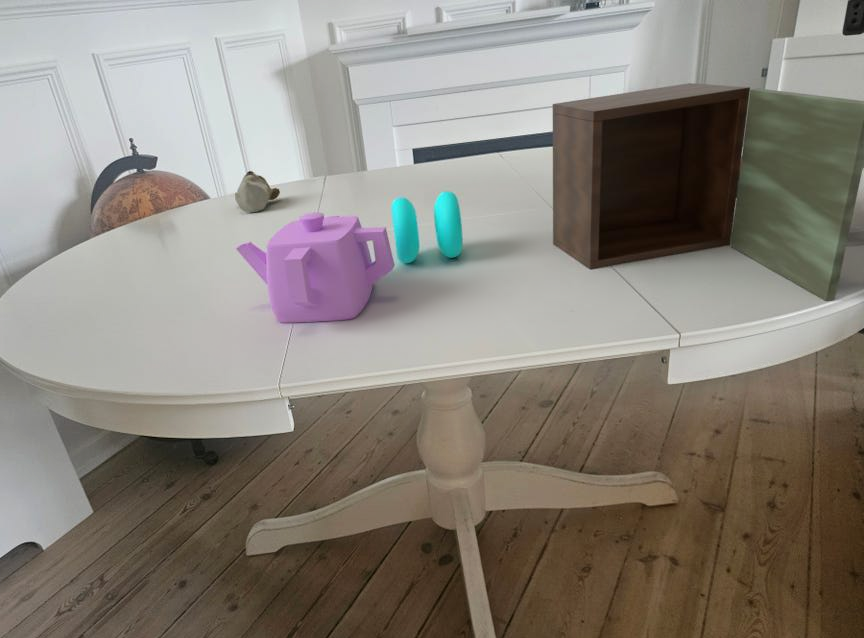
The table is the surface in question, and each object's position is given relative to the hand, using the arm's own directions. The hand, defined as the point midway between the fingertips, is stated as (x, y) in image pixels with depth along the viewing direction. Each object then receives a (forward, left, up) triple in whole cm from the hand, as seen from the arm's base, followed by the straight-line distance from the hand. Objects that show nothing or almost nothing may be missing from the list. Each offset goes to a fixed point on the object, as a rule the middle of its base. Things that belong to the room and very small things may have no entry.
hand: (854, 33), depth 74 cm
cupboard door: (+11, +5, -25) cm, 27 cm away
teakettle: (+60, -31, -25) cm, 72 cm away
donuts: (+40, -35, -25) cm, 59 cm away
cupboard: (+16, -16, -25) cm, 34 cm away
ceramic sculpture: (+47, -100, -25) cm, 113 cm away
